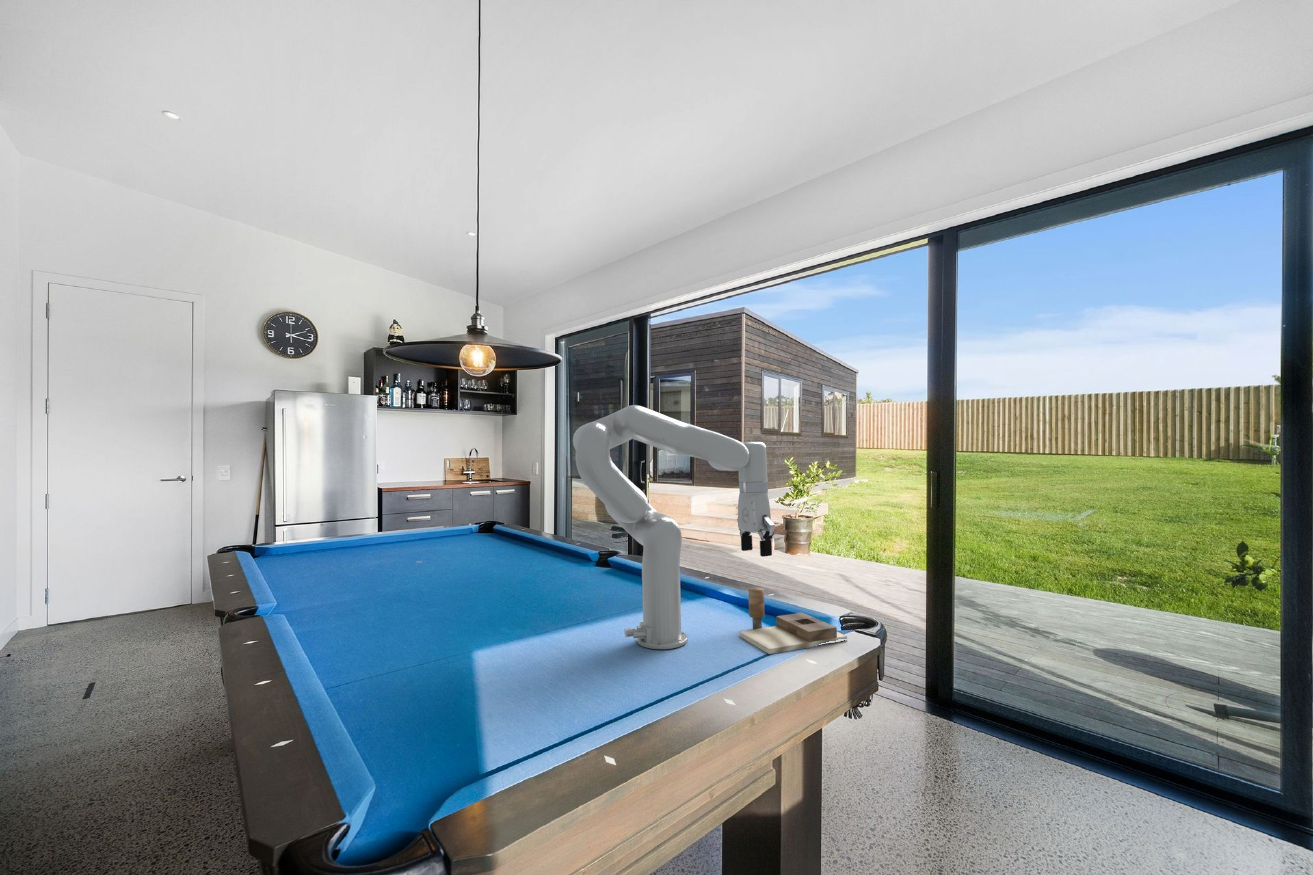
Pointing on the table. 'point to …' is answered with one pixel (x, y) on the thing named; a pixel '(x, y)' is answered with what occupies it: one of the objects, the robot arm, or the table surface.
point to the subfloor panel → (792, 634)
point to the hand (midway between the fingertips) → (756, 553)
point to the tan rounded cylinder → (756, 606)
